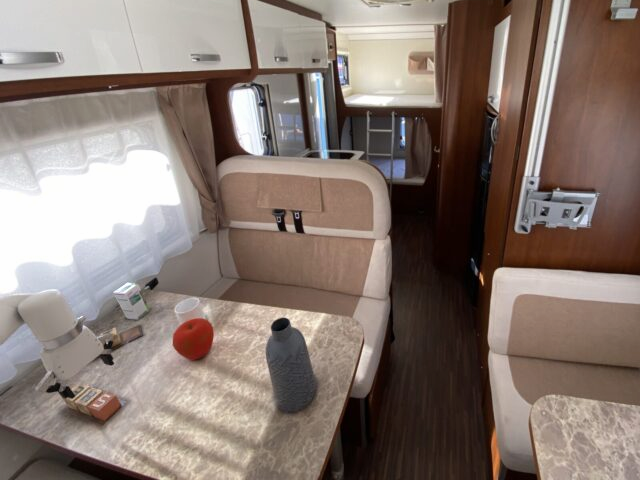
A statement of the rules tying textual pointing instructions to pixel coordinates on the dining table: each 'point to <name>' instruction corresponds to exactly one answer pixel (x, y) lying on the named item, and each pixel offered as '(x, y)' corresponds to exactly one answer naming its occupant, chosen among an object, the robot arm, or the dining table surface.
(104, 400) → the block
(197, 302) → the mug
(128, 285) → the syrup box
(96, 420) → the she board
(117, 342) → the board
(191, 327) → the apple
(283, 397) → the vase
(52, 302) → the robot arm
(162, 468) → the dining table surface
